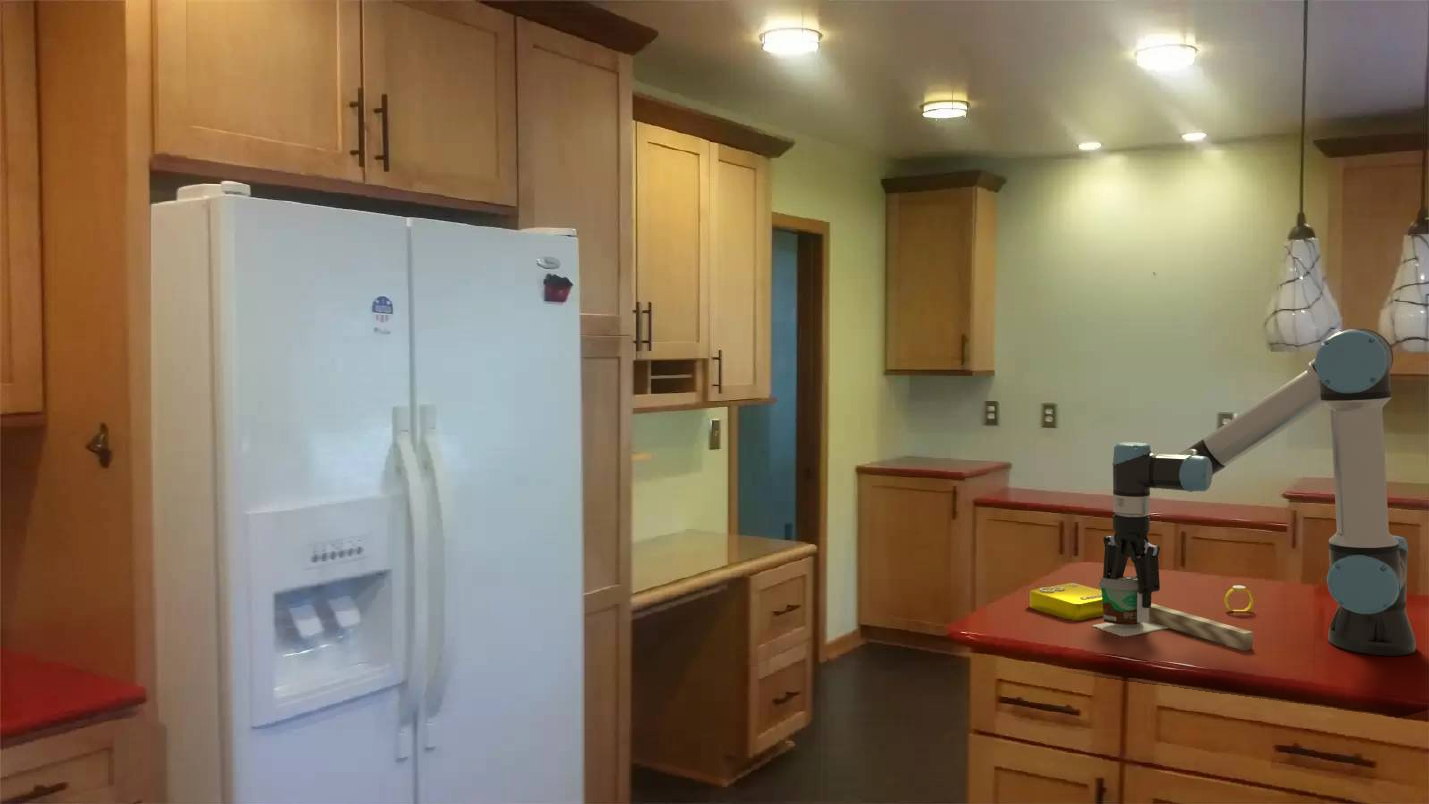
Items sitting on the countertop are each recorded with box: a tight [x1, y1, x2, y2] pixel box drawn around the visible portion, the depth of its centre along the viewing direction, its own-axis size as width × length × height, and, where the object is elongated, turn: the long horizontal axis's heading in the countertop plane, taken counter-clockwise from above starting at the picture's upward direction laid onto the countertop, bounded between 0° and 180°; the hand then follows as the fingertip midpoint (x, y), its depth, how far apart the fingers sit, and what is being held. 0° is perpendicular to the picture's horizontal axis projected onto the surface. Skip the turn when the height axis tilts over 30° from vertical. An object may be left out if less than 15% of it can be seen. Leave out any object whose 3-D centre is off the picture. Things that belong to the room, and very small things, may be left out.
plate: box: [1091, 621, 1169, 638], centre depth 233 cm, size 9×13×1 cm
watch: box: [1224, 584, 1255, 612], centre depth 244 cm, size 6×3×6 cm, turn 84°
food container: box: [1098, 575, 1140, 625], centre depth 233 cm, size 12×6×10 cm, turn 114°
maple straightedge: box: [1149, 602, 1254, 652], centre depth 229 cm, size 30×3×4 cm, turn 26°
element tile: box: [1029, 582, 1104, 621], centre depth 249 cm, size 15×15×5 cm
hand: (1130, 617), depth 233 cm, fingers closed on food container, 6 cm apart
